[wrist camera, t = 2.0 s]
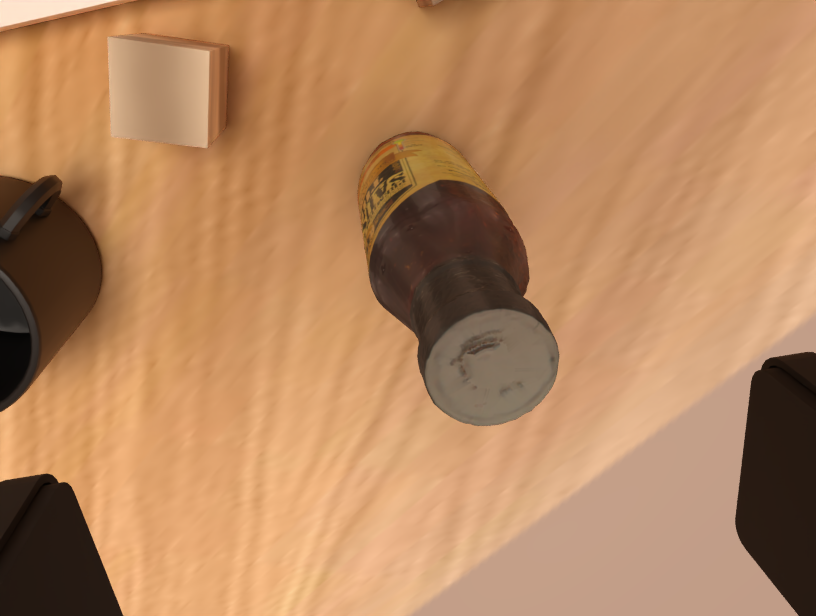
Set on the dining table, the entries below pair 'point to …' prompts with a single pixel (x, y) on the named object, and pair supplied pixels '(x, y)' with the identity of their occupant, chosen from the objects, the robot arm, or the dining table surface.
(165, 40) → the beech block
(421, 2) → the walnut cube
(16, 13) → the tray
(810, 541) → the robot arm
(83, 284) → the mug
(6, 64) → the dining table surface
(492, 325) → the sauce bottle
